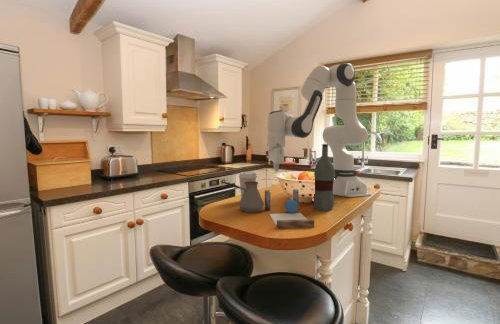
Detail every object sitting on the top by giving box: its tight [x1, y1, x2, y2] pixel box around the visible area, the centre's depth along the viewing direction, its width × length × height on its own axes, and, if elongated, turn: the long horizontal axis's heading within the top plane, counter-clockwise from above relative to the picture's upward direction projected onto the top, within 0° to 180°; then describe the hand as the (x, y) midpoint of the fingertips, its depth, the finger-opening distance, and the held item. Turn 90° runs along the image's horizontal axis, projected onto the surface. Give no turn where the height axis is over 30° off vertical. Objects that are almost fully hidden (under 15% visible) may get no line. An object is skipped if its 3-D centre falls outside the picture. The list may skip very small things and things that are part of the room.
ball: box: [284, 199, 299, 213], centre depth 125 cm, size 6×6×6 cm
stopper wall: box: [276, 218, 315, 230], centre depth 107 cm, size 14×2×2 cm, turn 96°
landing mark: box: [269, 212, 307, 226], centre depth 117 cm, size 14×14×1 cm
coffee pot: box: [221, 181, 265, 213], centre depth 126 cm, size 21×12×15 cm, turn 131°
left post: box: [264, 189, 272, 212], centre depth 130 cm, size 3×3×9 cm
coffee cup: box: [238, 171, 258, 198], centre depth 144 cm, size 10×10×15 cm
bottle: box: [313, 143, 335, 212], centre depth 131 cm, size 9×9×30 cm
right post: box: [292, 188, 299, 204], centre depth 131 cm, size 3×3×9 cm
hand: (276, 171), depth 142 cm, fingers closed
